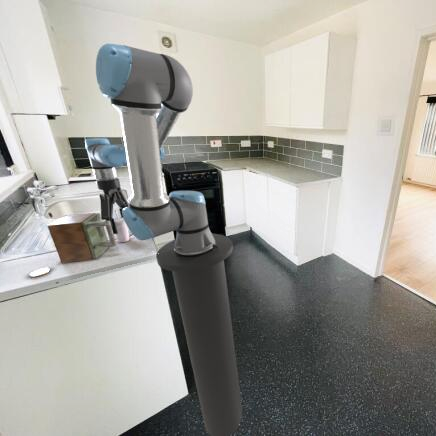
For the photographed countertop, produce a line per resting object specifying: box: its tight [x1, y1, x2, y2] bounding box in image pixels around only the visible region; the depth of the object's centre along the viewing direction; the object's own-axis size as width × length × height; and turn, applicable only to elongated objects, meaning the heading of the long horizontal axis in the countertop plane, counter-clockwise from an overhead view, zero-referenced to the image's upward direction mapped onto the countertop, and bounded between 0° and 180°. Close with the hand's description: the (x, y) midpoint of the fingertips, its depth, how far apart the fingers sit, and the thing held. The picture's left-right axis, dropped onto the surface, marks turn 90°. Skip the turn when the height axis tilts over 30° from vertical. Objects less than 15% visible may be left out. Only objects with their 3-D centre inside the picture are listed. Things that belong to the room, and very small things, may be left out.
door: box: [82, 212, 118, 260], centre depth 95 cm, size 8×11×15 cm
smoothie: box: [114, 210, 130, 243], centre depth 105 cm, size 6×6×14 cm
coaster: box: [29, 267, 51, 278], centre depth 83 cm, size 5×5×1 cm
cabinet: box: [46, 212, 97, 264], centre depth 93 cm, size 10×11×15 cm
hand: (120, 227), depth 105 cm, fingers open, 13 cm apart
